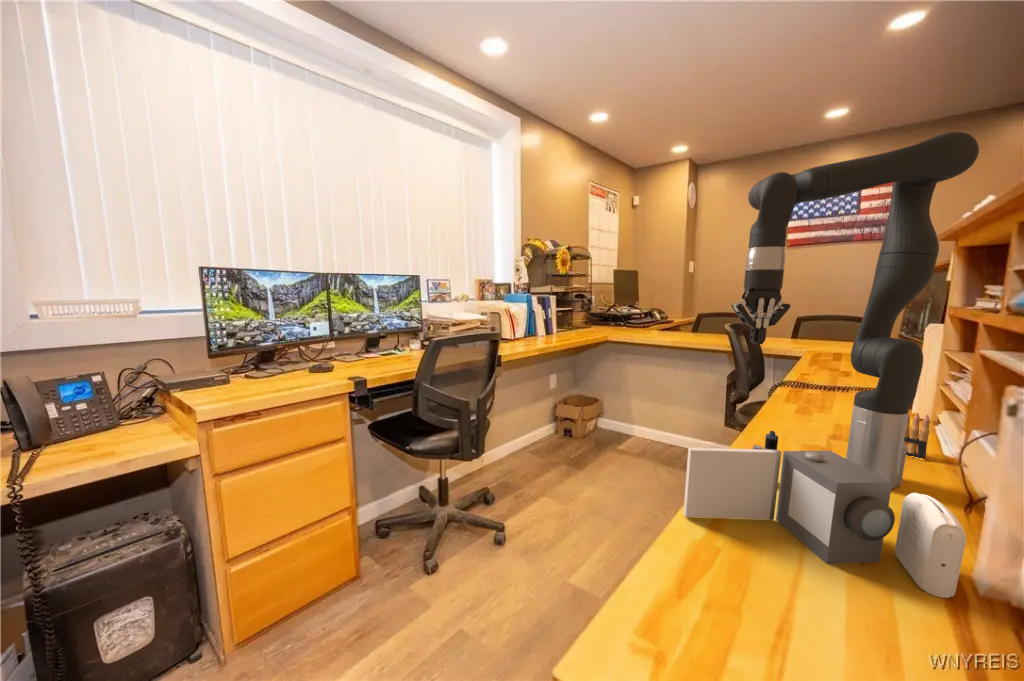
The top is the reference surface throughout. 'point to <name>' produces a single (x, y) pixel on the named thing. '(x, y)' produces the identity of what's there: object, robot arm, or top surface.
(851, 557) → the block
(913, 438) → the ammunition clip
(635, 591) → the top surface
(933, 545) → the photo printer
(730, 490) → the side door
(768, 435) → the vaping device
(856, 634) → the top surface
